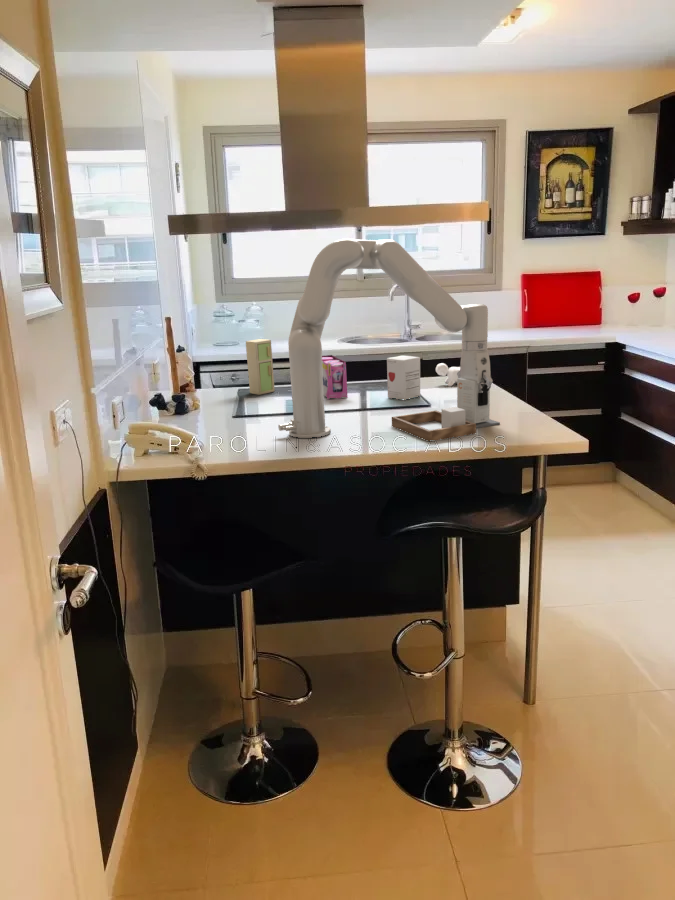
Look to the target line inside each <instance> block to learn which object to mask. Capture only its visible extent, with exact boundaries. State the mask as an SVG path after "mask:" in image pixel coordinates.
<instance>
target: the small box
mask: <svg viewBox="0 0 675 900" xmlns="http://www.w3.org/2000/svg"><path fill="white" fill-rule="evenodd" d="M480 382H484V380H480ZM456 384H457V385H456V386H457V387H456V388H457V389H456V390H457V392H456V395H457V397H456V399H457V401H456V402H457V404H456V407H458V408H461V409H464V410H465V420H466V421H469V422H472V423H480V422H485V421H489V419H490V414H491V413H490V408H491V407H490V405H491V402H490V401H491V400H490V399H491V398H490V396H491V395H490V394H491V393H490V392H491V391H490V389H491V388H490V389H489V392H488V405H484V406H478V393H480V392H479V389H478V385H477V382H476V381H473V380H469V379H464V378H458V379H457V383H456ZM481 386H482V388H483V386H484V385H481Z"/></svg>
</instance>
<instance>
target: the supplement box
mask: <svg viewBox="0 0 675 900" xmlns="http://www.w3.org/2000/svg"><path fill="white" fill-rule="evenodd" d="M386 371H387V372H386V373H387V374H386V375H387V376H386V378H387V379H386V380H387V381H386V382H387V398H388V397H389V398H388V399H392V398H396V399H395V400H398V399H404V400H406V399H409V398H413V397H418V396H420V397H421V357H420V356H412V355H398V356H392V357H391V356H390V357H387V358H386ZM418 398H419V397H418ZM404 400H403V401H404ZM406 401H407V400H406Z"/></svg>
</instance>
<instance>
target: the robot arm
mask: <svg viewBox="0 0 675 900" xmlns="http://www.w3.org/2000/svg"><path fill="white" fill-rule="evenodd" d="M353 269H354V270H356V269H357V270H382V271H383V272H384V273H385V275H387V276H388V277H389V279H391V281H393V282H394V283H395V284H396V286H398V287H399V289H400V290H401V291H402V292H403V293H404V294H405V295H406V296H407V297H409V298H410V299H412V300H413V301H415V302H416V303H418V304H419V305H420V306H422V307H423V309H426V311H427V312H428V313H429V314H431V315H432V317H433V318H434V322H435V324H436V325H437V327H439V328H440V329H443V330H444V331H447V332H449V333H459V332H460V331H461V356H460V365H459V367H460V371H459V372H457V376H458V378H464V379H469V380H473V381H476V382H477V385H478V389H479V392H480V393H478V406H484V405H488V392H489V389H491V387H492V383H493V378H492V376H491V360H490V355H489V351H488V332H489V331H488V330H489V329H488V328H489V326H488V322H489V318H488V317H489V315H488V314H489V308H488V306H487V305H486V304H482V303H470V304H465V305H460V304H459V303H458V301H456V300H455V299H454V297H452V296H451V294H450V293H449V292H447V291H446V289H444V287H442V286H441V285H440V284H439V282H437V281H436V280H435V279H434V278H433V277H432V276H431V275H430V274H429V273H428V272H427V271H426V270H425V269H424V268H423V267H422V266H421V265H420V264H419V263H418V262H417V261H416V260H415V259H414V257H413V256H412V255H411V254H410V253H409V252H408V251H407V250H406V249H405V248H404V247H403V246H402V245H401V244H400V243H398V241H396V240H394V239H390V238H389V239H388V238H387V239H378V240H375V239H374V240H373V239H372V240H371V239H369V240H368V239H355V238H353V237H352V238H351V237H350V238H349V237H347V238H341V239H337V240H335V241H333V242H330V243H329V244H327V245H326V246H325V247H324V248H322V249H321V251H320V252H318V254H317V255H316V257H315V259H314V261H313V262H312V264H311V268H310V271H309V274H308V277H307V281H306V282H305V288H304V291H303V294H302V295H301V297H300V298H299V300H298V302H297V305H296V310H295V313H294V315H293V316H294V317H293V321H292V324H291V328H290V333H289V337H288V344H287V345H288V359H289V373H290V385H291V386H290V387H291V398H292V399H291V401H292V402H291V404H292V415H293V418H292V419H290V421H289V422H287V423H280V424H278V430H279V431H280V432H282V431H285V432H289V434H288V435H289V436H291V437H292V436H293V438H296V437H298V438H297V439H313V438H312V437H317V438H322V437H324V436H325V435H326V436H328V435H330V434H331V429H332V428H330V427H329V426H326V419H325V417H326V415H325V396H324V393H323V375H322V356H323V346H322V341H321V338H322V334H323V331H324V327H325V324H326V321H327V319H328V318H329V316H330V313H331V307H332V303H333V299H334V295H335V292H336V289H337V285H338V283H339V279H340V277H341V276H342V273H343V272H345V271H346V270H353ZM480 380H484V382H480ZM481 385H484V386H483V388H482V386H481ZM321 436H322V437H321Z"/></svg>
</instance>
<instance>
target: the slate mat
mask: <svg viewBox="0 0 675 900" xmlns="http://www.w3.org/2000/svg"><path fill="white" fill-rule="evenodd" d="M475 424H476V429H480V428H485V427H492V426H497V425H498V426H499V425H500V424H501V422H500V421H497V420H494V419H491V418H489V421H485V422H480V423H475Z"/></svg>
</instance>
